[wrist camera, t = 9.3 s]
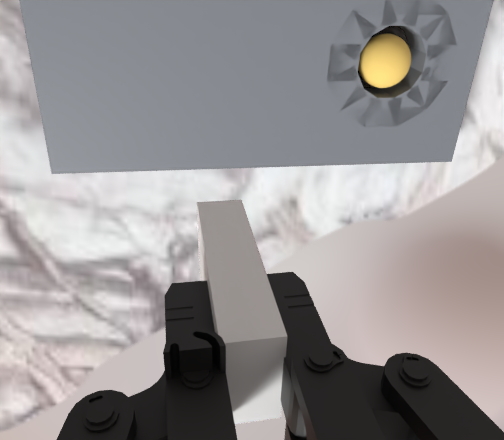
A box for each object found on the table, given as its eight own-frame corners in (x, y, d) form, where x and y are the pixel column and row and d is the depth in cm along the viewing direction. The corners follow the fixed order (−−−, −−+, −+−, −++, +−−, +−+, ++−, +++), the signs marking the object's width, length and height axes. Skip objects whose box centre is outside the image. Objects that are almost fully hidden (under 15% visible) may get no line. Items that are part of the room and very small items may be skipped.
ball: (363, 88, 30) (415, 89, 30) (369, 30, 29) (423, 32, 29) (349, 86, 33) (397, 87, 34) (354, 34, 32) (402, 36, 33)
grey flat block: (59, 159, 33) (51, 173, 31) (17, -81, 26) (3, -84, 24) (434, 149, 37) (451, 161, 35) (484, -59, 30) (508, -59, 28)
